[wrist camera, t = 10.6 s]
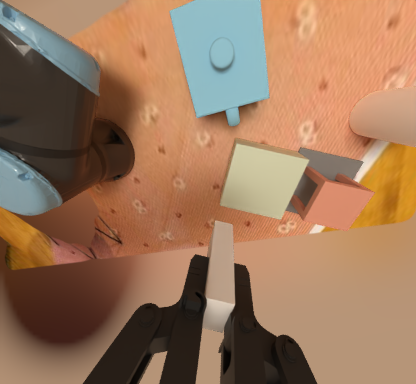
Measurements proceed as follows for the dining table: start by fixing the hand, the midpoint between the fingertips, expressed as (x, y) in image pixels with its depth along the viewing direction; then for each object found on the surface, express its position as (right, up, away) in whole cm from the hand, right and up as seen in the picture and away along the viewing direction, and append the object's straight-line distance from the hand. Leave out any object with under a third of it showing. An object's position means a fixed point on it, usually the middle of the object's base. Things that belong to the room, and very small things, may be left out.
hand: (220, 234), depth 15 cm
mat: (+25, +5, +27) cm, 37 cm away
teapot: (+2, +29, +19) cm, 34 cm away
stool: (+20, +4, +23) cm, 30 cm away
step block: (+11, +8, +27) cm, 30 cm away
